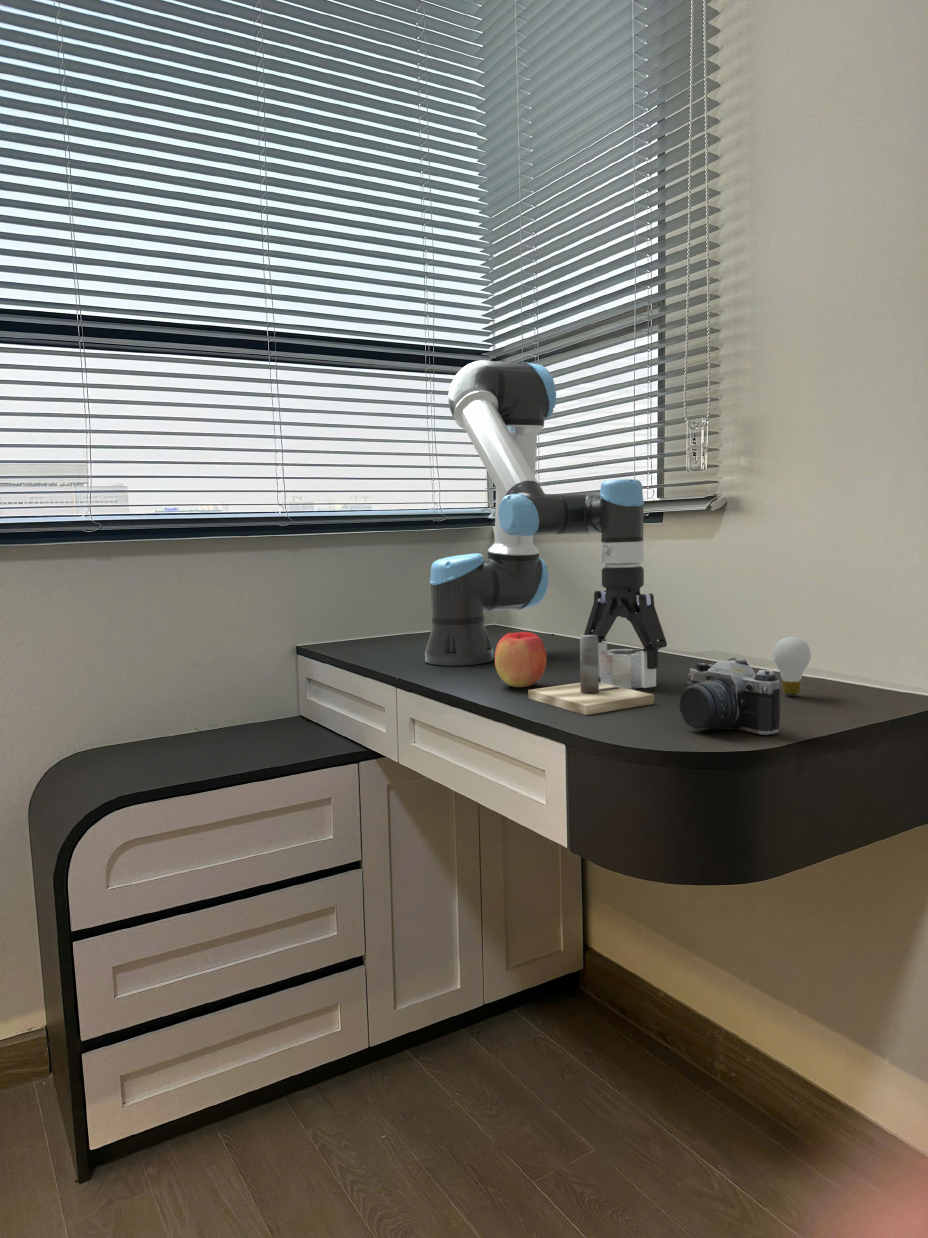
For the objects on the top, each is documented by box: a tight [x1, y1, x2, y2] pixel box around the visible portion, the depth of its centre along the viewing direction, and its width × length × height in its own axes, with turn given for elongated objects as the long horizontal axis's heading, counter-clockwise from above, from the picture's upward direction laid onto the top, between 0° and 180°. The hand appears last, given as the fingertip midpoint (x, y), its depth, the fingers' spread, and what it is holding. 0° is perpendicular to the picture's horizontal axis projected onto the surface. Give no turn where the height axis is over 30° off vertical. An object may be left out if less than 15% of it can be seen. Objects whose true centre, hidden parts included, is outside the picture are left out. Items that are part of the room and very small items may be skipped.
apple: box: [494, 631, 548, 688], centre depth 159 cm, size 10×10×10 cm
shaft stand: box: [527, 634, 655, 716], centre depth 144 cm, size 16×14×11 cm
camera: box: [679, 657, 781, 736], centre depth 123 cm, size 16×10×10 cm, turn 30°
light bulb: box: [772, 636, 812, 697], centre depth 143 cm, size 6×6×10 cm
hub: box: [600, 648, 643, 690], centre depth 158 cm, size 8×8×6 cm
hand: (623, 681), depth 158 cm, fingers open, 13 cm apart
